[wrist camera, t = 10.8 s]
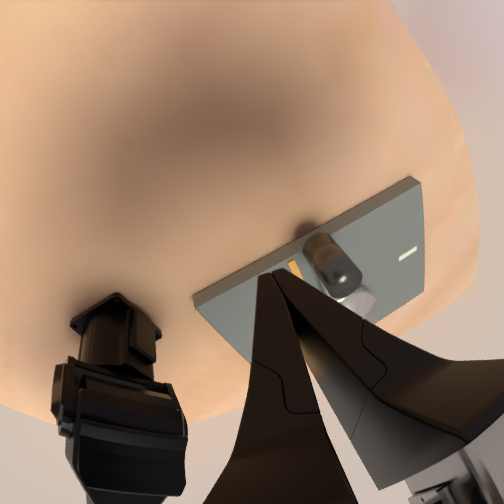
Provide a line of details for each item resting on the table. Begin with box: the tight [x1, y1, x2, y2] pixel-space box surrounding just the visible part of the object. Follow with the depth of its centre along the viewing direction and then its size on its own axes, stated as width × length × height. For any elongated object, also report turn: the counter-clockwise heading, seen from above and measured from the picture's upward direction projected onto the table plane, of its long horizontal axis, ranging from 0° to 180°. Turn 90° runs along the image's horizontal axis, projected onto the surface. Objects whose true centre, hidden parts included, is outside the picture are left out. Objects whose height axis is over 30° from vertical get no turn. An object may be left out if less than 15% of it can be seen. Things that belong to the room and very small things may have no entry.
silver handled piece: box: [303, 232, 380, 324], centre depth 25 cm, size 15×8×5 cm, turn 23°
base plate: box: [193, 176, 425, 364], centre depth 28 cm, size 22×16×2 cm
